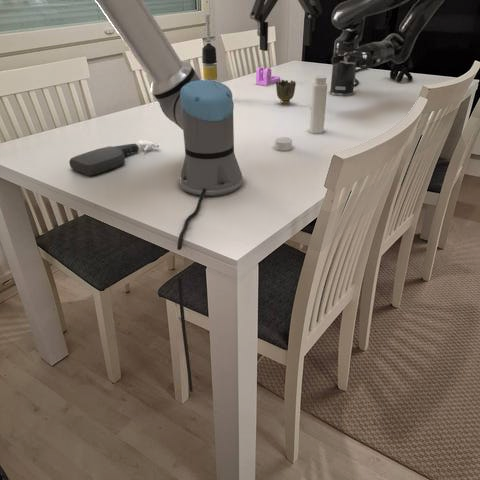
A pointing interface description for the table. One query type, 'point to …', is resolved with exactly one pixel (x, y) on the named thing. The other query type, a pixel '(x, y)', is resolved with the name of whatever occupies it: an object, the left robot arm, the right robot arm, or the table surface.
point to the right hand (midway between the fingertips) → (344, 62)
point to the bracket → (265, 77)
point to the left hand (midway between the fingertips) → (285, 47)
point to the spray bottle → (106, 157)
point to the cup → (285, 91)
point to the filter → (209, 57)
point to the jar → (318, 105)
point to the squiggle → (396, 67)
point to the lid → (283, 144)
